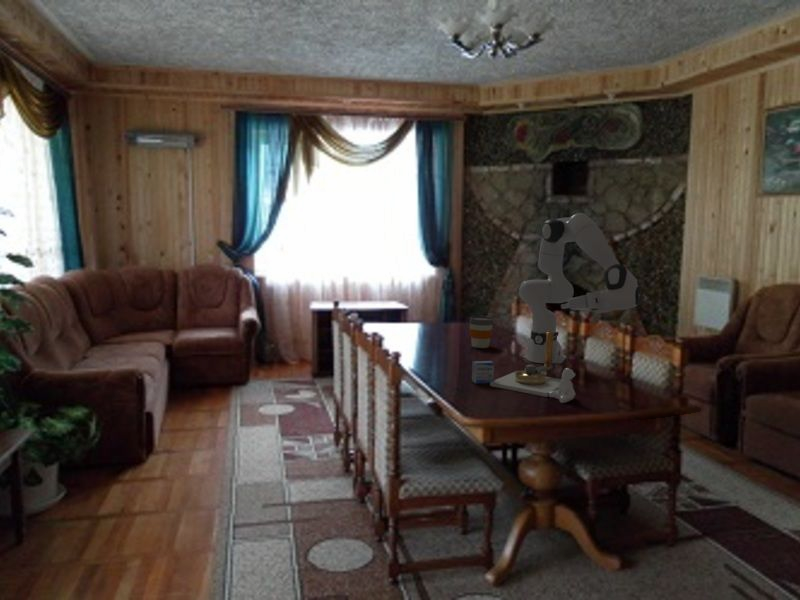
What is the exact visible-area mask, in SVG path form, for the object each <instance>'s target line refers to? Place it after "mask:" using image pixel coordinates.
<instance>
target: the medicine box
mask: <svg viewBox="0 0 800 600" xmlns="http://www.w3.org/2000/svg"><path fill="white" fill-rule="evenodd" d="M471 363H472V365H471V366H472V367H471V382H473V384H475V385H484V384H485V385H486V384H490V382H492V381H494V373H495V372H494V371H495V362H493V361H492V360H478V361H477V360H476V361H473V360H472V362H471Z"/></svg>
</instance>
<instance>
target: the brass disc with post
mask: <svg viewBox="0 0 800 600" xmlns="http://www.w3.org/2000/svg"><path fill="white" fill-rule="evenodd" d="M553 339H554V333H553V332H546V349H545V363H544V365H541V366H538V367H537V366H536V374H527V373H526V367H525V368H524V370H515V371H514V372H515V374H516V376H515V381H516V382H518V383H521V384H526V385H542V384H545V382H546V377H547V374H548V373H547V371H549V370H552V369H553V366H554V365H553V363H552V355H553Z"/></svg>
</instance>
